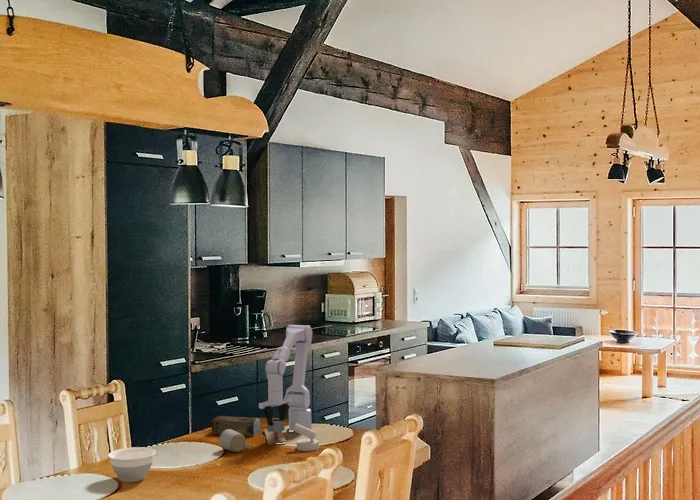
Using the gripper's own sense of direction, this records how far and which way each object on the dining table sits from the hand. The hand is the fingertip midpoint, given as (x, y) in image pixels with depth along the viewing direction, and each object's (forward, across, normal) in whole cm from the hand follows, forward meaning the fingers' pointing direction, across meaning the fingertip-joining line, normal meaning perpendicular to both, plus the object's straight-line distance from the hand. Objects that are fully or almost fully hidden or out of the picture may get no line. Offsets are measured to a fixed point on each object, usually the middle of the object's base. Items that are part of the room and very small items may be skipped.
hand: (275, 424), depth 334 cm
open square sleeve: (+2, 0, 0) cm, 2 cm away
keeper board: (+7, -3, -5) cm, 9 cm away
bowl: (+7, +65, +9) cm, 66 cm away
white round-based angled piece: (+7, -4, +16) cm, 17 cm away
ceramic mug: (+7, +19, 0) cm, 20 cm away
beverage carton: (+7, +5, -23) cm, 25 cm away
